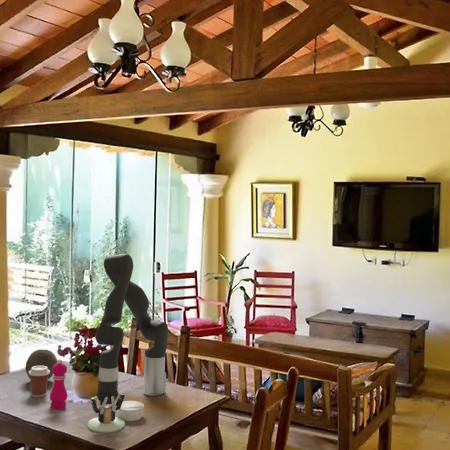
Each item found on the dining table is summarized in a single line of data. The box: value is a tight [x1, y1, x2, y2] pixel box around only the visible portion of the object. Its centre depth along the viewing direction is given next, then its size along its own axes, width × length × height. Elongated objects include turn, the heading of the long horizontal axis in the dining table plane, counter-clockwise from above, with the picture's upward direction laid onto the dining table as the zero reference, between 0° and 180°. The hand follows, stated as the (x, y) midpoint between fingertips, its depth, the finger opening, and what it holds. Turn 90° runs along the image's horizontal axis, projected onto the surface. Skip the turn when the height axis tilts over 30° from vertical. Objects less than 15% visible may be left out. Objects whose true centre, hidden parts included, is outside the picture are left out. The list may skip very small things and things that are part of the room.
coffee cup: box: [29, 366, 50, 398], centre depth 268 cm, size 9×9×12 cm
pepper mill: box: [49, 359, 68, 410], centre depth 253 cm, size 7×7×20 cm
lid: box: [87, 405, 126, 434], centre depth 234 cm, size 14×14×7 cm
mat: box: [82, 421, 131, 436], centre depth 234 cm, size 14×14×1 cm
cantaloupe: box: [25, 349, 58, 380], centre depth 286 cm, size 14×14×15 cm
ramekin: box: [116, 400, 145, 422], centre depth 245 cm, size 11×11×5 cm
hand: (106, 421), depth 234 cm, fingers open, 3 cm apart
